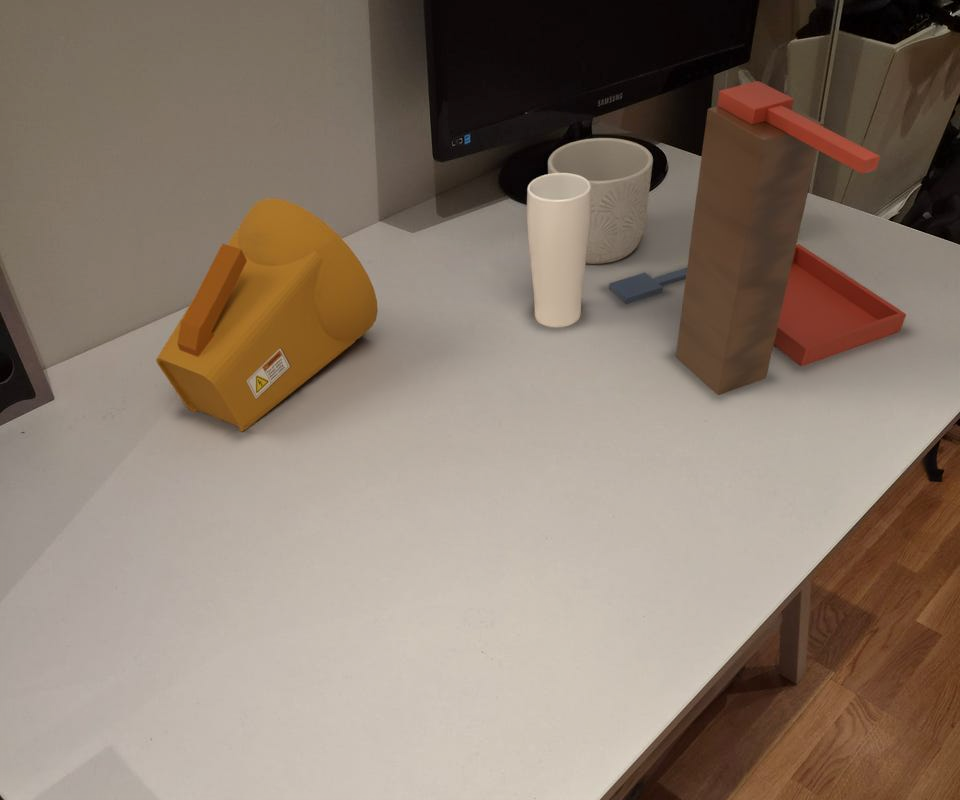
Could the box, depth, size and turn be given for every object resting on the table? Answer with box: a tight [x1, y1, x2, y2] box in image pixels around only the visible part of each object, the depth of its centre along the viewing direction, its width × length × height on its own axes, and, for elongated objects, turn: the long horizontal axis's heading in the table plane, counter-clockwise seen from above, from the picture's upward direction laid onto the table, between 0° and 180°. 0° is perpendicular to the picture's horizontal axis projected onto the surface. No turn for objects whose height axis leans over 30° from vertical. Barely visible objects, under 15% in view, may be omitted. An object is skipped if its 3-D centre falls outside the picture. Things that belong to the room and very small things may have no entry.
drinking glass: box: [526, 173, 591, 328], centre depth 96 cm, size 7×7×15 cm
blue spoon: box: [608, 267, 687, 305], centre depth 105 cm, size 4×17×1 cm, turn 115°
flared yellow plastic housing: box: [155, 197, 378, 433], centre depth 92 cm, size 20×17×18 cm
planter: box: [547, 137, 654, 265], centre depth 107 cm, size 12×12×11 cm
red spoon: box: [717, 80, 881, 175], centre depth 70 cm, size 4×17×1 cm, turn 25°
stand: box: [675, 105, 824, 396], centre depth 83 cm, size 6×8×25 cm
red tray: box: [773, 243, 907, 367], centre depth 98 cm, size 13×18×3 cm
